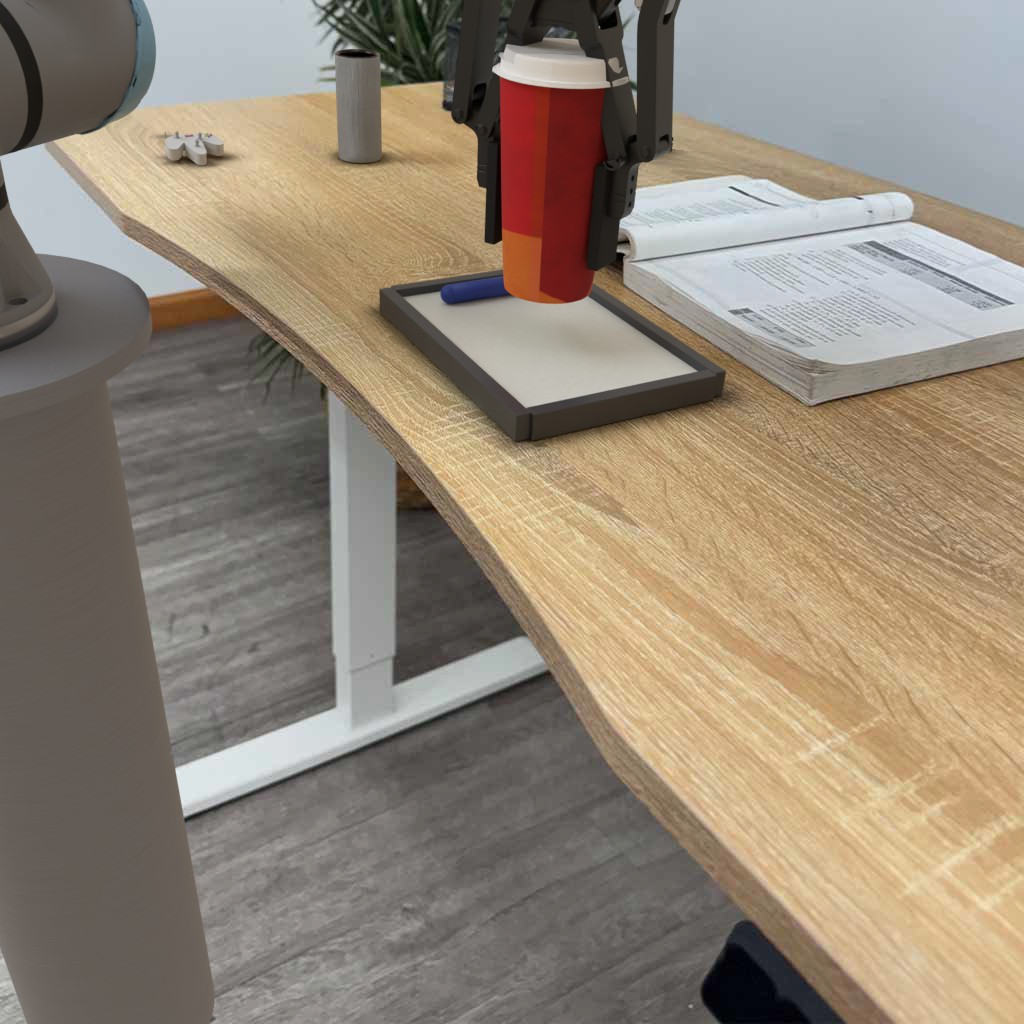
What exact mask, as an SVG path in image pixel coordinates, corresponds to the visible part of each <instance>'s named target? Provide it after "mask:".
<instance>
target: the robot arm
mask: <svg viewBox="0 0 1024 1024" xmlns="http://www.w3.org/2000/svg"><path fill="white" fill-rule="evenodd" d="M622 1H623V0H514V2H513V5H512V8H511V11H510V13H509V16H508V19H507V22H506V26H505V28H506V31H507V33H506V36H505V39H504V42H503V45H502V47H501V50H500V52H502V53H504V51H505V48H506V45H507V44H510V45H516V46H526V45H530V44H534V43H538V42H542V41H543V38H546V36H547V34H548V33H550V31H551V29H552V27H553V26H559V27H561V28H563V29H565V30H566V31H568V32H569V31H570V32H575V33H576V37H577V40H578V42H579V45H580V47H581V49H582V50H584V52H585V54H586V57H589V58H595V59H602V60H604V61H605V65H606V81H608V82H610V86H611V87H608V88H605V93H604V100H603V107H602V114H601V121H600V123H601V127H602V132H603V136H604V141H605V146H606V150H607V155H608V159H609V160H607V161H605V162H603V163H601V164H598V165H596V168H595V179H594V190H593V201H592V212H591V223H590V234H589V245H588V256H587V267H586V269H589V270H593V271H595V272H599V271H600V270H602V269H603V268H605V267H607V266H609V265H610V264H612V263H613V262H615V261H616V260H617V253H618V252H617V251H618V243H619V234H620V225H621V220H623V219H624V218H626V217H628V216H630V215H632V212H633V210H634V208H635V205H636V204H635V202H636V194H637V188H638V187H637V186H638V177H639V169H640V166H641V164H642V163H651V162H652V161H655V160H657V159H658V158H661V157H663V156H665V155H667V154H668V153H670V152H671V151H670V150H671V147H672V148H673V146H672V142H673V141H672V137H673V121H674V120H673V117H674V116H673V113H674V70H675V69H674V67H675V65H674V63H675V19H676V16H677V14H678V10H679V7H680V4H681V1H682V0H634V3H633V4H634V7H636V9H637V10H638V11H639V13H638V18H637V25H636V105H635V100H634V99H635V98H634V95H633V90H632V84H631V79H629V75H628V72H629V70H628V66H627V61H626V56H625V51H624V46H623V39H624V35H625V33H624V26H623V22H622V16H621V13H620V6H619V5H620V3H621V2H622ZM502 2H503V1H502V0H463V5H462V13H461V14H462V15H461V23H460V31H459V38H458V39H459V40H458V47H457V58H456V66H455V73H454V81H453V82H454V83H453V92H452V98H451V99H452V100H451V108H450V116H451V120H452V121H453V122H454V123H456V125H464V126H466V127H468V128H469V129H470V130H472V131H473V132H474V134H475V136H476V138H477V152H476V153H477V154H476V155H477V157H476V181H477V184H478V187H479V188H482V189H485V209H484V210H485V212H484V213H485V214H484V237H483V240H484V241H483V242H484V243H485V244H489V245H493V246H494V245H496V244H498V243H500V242H502V194H501V115H500V76H499V75H497V74H496V73H494V72H493V71H492V68H493V67H494V61H495V53H496V46H497V38H498V31H499V26H500V25H499V24H500V16H501V9H502ZM615 57H616V58H617V59H618V61H619V68H621V67H623V69H622V70H621V72H620V73H616V72H614V71H613V69H612V68H611V67H610V65H609V63H608V61H609V59H611V58H615ZM156 62H157V43H156V35H155V28H154V24H153V20H152V17H151V15H150V12H149V10H148V6H147V5H146V2H145V1H144V0H0V157H2V156H6V155H9V154H14V153H17V152H19V151H23V150H25V149H29V148H33V147H36V146H41V145H43V144H47V143H51V142H55V141H57V140H61V139H65V138H68V137H71V136H75V135H80V136H83V135H90V134H92V133H94V132H97V131H100V130H101V129H103V128H105V127H106V126H108V125H110V124H111V123H114V122H117V121H119V120H122V119H123V118H126V117H127V116H128V115H130V114H131V113H132V112H134V111H135V110H136V109H137V108H138V106H139V105H140V103H141V102H142V100H143V99H144V97H145V96H146V95H147V93H148V91H149V90H150V87H151V85H152V82H153V79H154V74H155V70H156ZM498 63H501V57H500V56H499V55H498V59H497V62H496V64H495V65H497V64H498ZM624 77H628V80H629V82H628V83H625V84H623V85H619V86H615V87H613V84H612V82H613V81H615V80H618V79H621V78H624ZM8 195H9V194H8V191H7V186H6V181H5V176H4V171H3V166H2V161H1V160H0V351H3V350H6V349H9V348H11V347H14V346H17V345H19V344H22V343H24V342H26V341H28V340H30V339H32V338H34V337H35V336H37V335H39V334H40V333H42V332H43V331H44V330H46V329H47V328H48V327H49V326H50V325H51V324H52V323H53V322H54V320H55V319H56V317H57V314H58V306H57V301H56V296H55V291H54V286H53V284H52V282H51V280H50V278H49V276H48V274H47V272H46V271H45V269H44V267H43V265H42V264H41V262H40V260H39V258H38V257H37V255H36V252H35V250H34V248H33V246H32V244H31V243H30V241H29V240H28V238H27V236H26V234H25V232H24V231H23V229H22V227H21V225H20V224H19V221H18V220H17V219H16V217H15V215H14V213H13V210H12V208H11V204H10V199H9V196H8Z"/></svg>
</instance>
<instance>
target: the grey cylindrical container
mask: <svg viewBox="0 0 1024 1024" xmlns="http://www.w3.org/2000/svg"><path fill="white" fill-rule="evenodd" d="M334 74H335V99H336V100H335V102H336V126H337V127H336V128H337V130H336V131H337V151H338V158H339V159H340V160H341V161H343V162H347V163H354V164H369V163H376V162H378V161H380V160H381V159H382V157H383V156H382V155H383V144H382V143H383V140H382V139H383V138H382V133H383V132H382V85H381V84H382V77H381V53H379V52H378V51H375V50H371V49H365V48H364V49H363V48H346V49H345V48H344V49H339V50H337V51H335V52H334Z"/></svg>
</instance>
